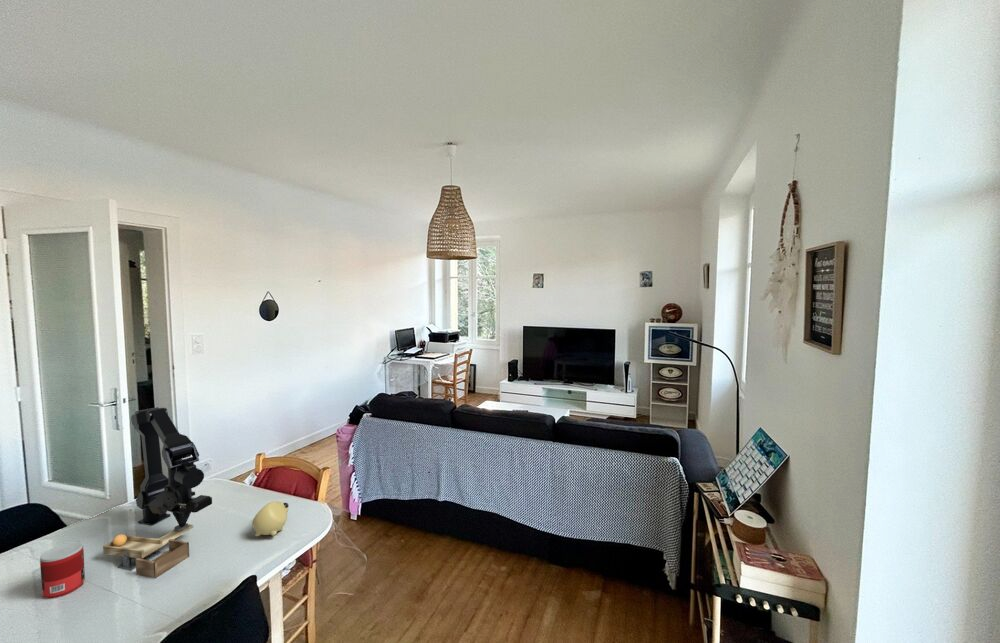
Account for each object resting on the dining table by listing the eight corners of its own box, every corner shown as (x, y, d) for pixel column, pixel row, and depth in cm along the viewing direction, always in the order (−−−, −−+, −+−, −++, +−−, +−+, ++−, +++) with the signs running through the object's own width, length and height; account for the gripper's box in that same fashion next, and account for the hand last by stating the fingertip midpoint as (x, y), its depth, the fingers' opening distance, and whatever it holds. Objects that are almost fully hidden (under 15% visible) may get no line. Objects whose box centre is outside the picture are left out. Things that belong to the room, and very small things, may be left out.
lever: (103, 553, 122) (102, 546, 122) (158, 524, 137) (158, 517, 137) (141, 558, 119) (141, 550, 119) (193, 527, 134) (193, 520, 134)
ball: (109, 547, 123) (109, 537, 123) (121, 540, 126) (121, 531, 126) (117, 549, 122) (118, 539, 122) (129, 543, 126) (129, 533, 125)
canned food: (91, 582, 113) (89, 544, 112) (52, 603, 106) (50, 562, 105) (75, 575, 116) (72, 538, 115) (35, 595, 108) (33, 555, 107)
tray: (136, 574, 117) (135, 559, 117) (171, 552, 127) (170, 538, 126) (155, 578, 115) (154, 563, 115) (189, 556, 125) (188, 542, 125)
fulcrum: (117, 567, 119) (117, 553, 119) (148, 550, 128) (147, 536, 127) (131, 570, 118) (130, 556, 118) (160, 552, 126) (160, 539, 126)
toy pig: (294, 521, 145) (294, 493, 144) (278, 542, 133) (277, 511, 132) (265, 522, 144) (265, 493, 143) (247, 543, 132) (246, 511, 131)
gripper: (129, 488, 125) (132, 537, 126) (178, 494, 121) (181, 545, 122) (166, 473, 136) (169, 518, 137) (212, 478, 132) (214, 524, 133)
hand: (182, 526), depth 132 cm, fingers closed, pressing on lever
